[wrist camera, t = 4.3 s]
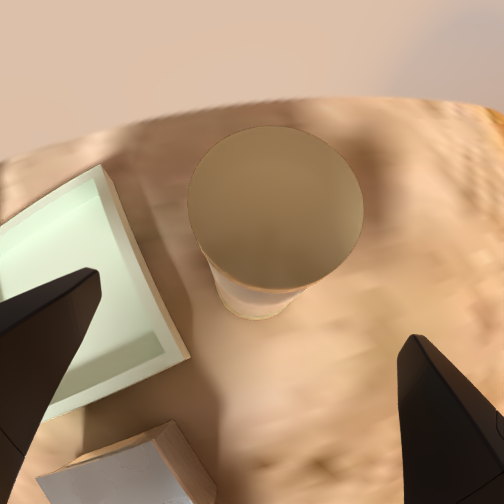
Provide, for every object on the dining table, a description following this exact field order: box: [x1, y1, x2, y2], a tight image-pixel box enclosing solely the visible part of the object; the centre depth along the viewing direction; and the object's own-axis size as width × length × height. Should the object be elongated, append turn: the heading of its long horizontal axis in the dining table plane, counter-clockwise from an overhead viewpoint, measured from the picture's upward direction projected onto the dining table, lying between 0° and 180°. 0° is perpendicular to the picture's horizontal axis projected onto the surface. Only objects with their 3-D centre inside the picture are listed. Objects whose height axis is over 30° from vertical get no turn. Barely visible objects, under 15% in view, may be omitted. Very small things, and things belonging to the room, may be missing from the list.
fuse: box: [187, 126, 364, 320], centre depth 14 cm, size 5×5×11 cm
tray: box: [0, 164, 191, 424], centre depth 17 cm, size 12×12×2 cm
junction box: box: [35, 420, 217, 504], centre depth 12 cm, size 5×9×5 cm, turn 119°
